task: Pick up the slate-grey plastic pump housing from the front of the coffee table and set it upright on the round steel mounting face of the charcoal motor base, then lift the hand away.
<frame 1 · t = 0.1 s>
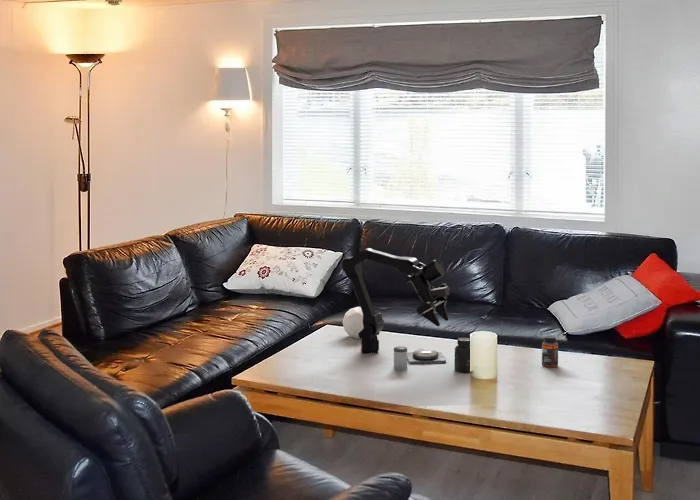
hand: (443, 323, 313), 15 cm above the table, tool tilted 30°, fingers open, 9 cm apart
geodesic sphere: (358, 337, 351), on the table
supplement bottle 2: (549, 366, 307), on the table
pump housing: (400, 369, 306), on the table
supplement bottle: (463, 371, 303), on the table
motor base: (425, 358, 318), on the table
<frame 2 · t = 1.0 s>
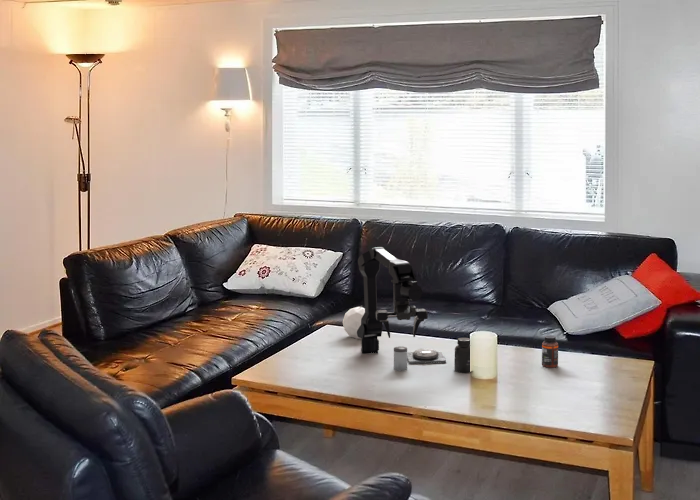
hand: (401, 337, 304), 12 cm above the table, tool pointing down, fingers open, 9 cm apart
nothing on the table moved.
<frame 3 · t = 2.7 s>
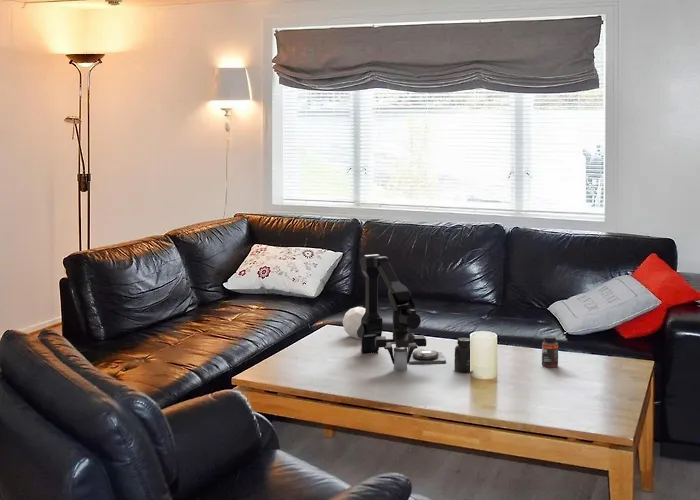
hand: (400, 363, 305), 2 cm above the table, tool pointing down, fingers closed on pump housing, 5 cm apart
pump housing: (400, 369, 306), on the table, touching gripper
everything else where it was.
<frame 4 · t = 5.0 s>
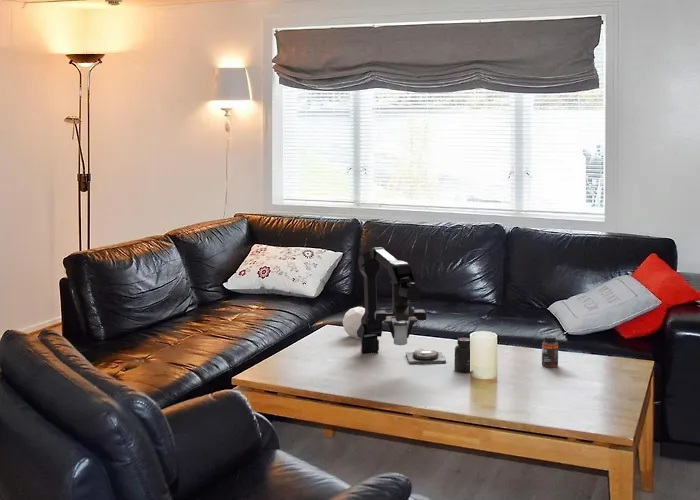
hand: (400, 337, 304), 12 cm above the table, tool pointing down, fingers closed on pump housing, 5 cm apart
pump housing: (400, 343, 304), point 10 cm above the table, touching gripper
everything else where it was.
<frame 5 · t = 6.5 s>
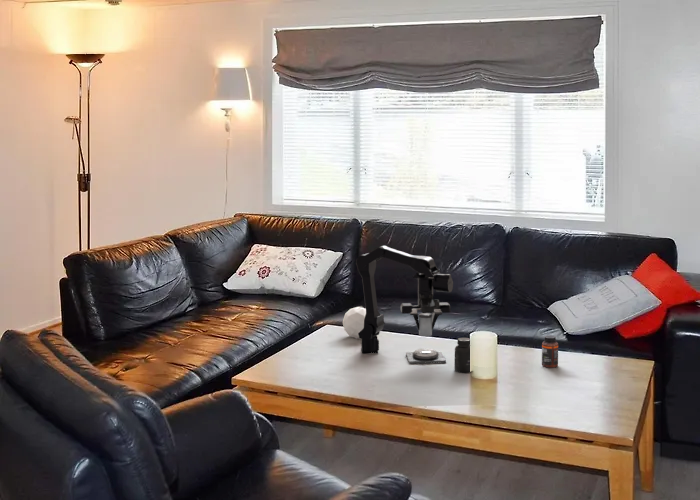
hand: (425, 329, 316), 12 cm above the table, tool pointing down, fingers closed on pump housing, 5 cm apart
pump housing: (425, 334, 316), point 10 cm above the table, touching gripper
everything else where it was.
when the fingers open (6 cm above the table, at t = 7.7 s): pump housing drops 1 cm, resting on motor base.
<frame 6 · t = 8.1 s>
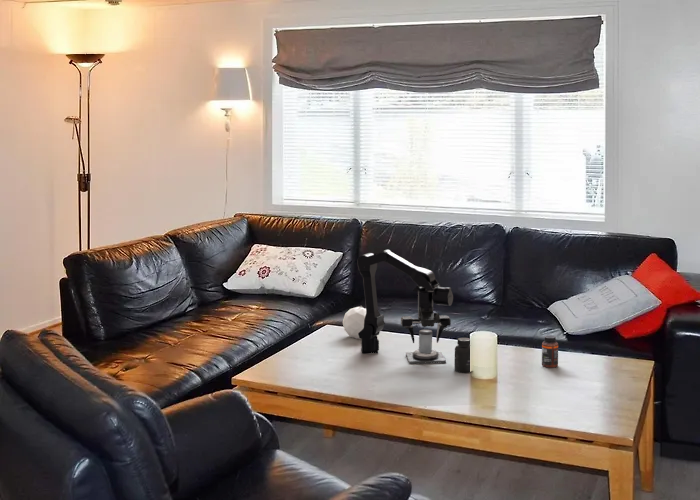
hand: (425, 342, 317), 6 cm above the table, tool pointing down, fingers open, 9 cm apart
pump housing: (425, 351, 317), point 3 cm above the table, touching motor base
everything else where it was.
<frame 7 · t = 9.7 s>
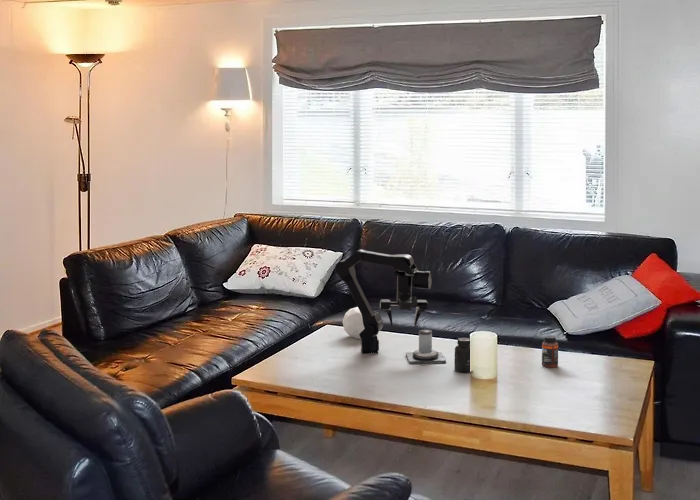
hand: (403, 325, 323), 12 cm above the table, tool pointing down, fingers open, 9 cm apart
nothing on the table moved.
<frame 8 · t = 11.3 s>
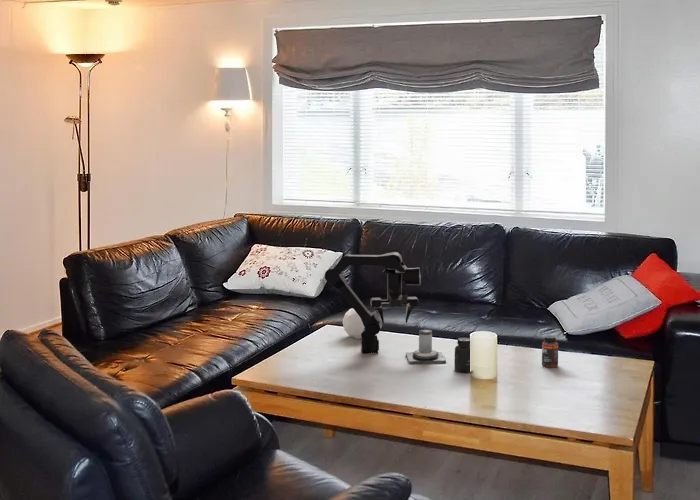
hand: (394, 323, 325), 12 cm above the table, tool pointing down, fingers open, 9 cm apart
nothing on the table moved.
at the end: pump housing 0.1 cm off-centre on the motor base, point 3.0 cm above the motor base's base; pump housing tilted 0°; the gripper is holding nothing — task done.
